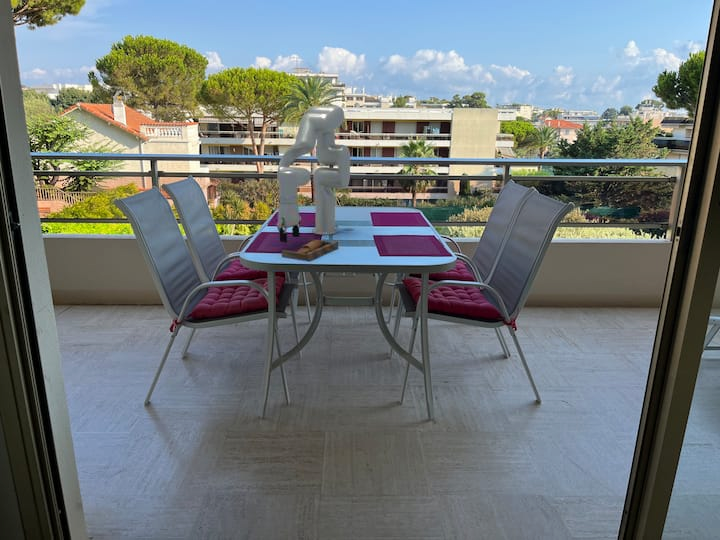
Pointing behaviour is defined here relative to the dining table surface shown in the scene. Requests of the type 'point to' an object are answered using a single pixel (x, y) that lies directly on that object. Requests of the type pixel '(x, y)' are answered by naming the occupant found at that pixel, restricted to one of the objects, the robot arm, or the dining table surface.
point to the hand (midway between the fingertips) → (289, 239)
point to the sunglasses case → (311, 246)
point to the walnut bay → (312, 252)
